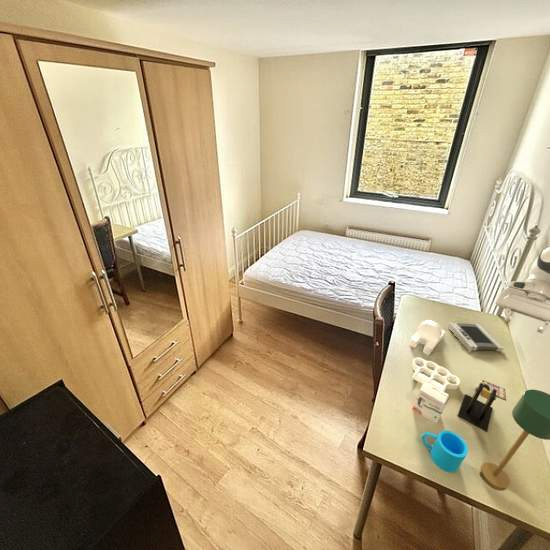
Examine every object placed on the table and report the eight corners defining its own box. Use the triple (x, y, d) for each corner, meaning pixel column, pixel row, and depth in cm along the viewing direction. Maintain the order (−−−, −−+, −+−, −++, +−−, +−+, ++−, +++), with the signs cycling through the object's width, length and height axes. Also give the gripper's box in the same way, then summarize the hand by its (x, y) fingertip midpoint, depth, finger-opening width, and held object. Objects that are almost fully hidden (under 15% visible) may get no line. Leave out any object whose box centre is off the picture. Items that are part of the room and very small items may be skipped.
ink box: (410, 411, 106) (419, 388, 100) (415, 402, 110) (424, 380, 104) (435, 426, 101) (446, 404, 95) (440, 416, 105) (450, 394, 99)
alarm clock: (449, 322, 147) (481, 320, 147) (447, 329, 149) (478, 327, 149) (470, 346, 132) (506, 343, 132) (468, 354, 134) (503, 351, 134)
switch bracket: (463, 396, 112) (475, 373, 106) (491, 410, 107) (505, 386, 101) (456, 417, 104) (468, 393, 98) (485, 433, 99) (500, 409, 93)
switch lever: (477, 389, 111) (480, 381, 111) (487, 394, 109) (491, 385, 109) (477, 396, 100) (481, 387, 100) (489, 401, 98) (493, 392, 98)
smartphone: (504, 376, 121) (505, 374, 121) (504, 402, 110) (506, 400, 110) (482, 368, 125) (483, 366, 125) (479, 391, 114) (481, 389, 114)
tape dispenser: (408, 344, 137) (414, 326, 132) (423, 327, 148) (429, 310, 143) (429, 355, 131) (436, 337, 126) (443, 336, 142) (450, 319, 137)
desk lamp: (508, 470, 89) (563, 397, 73) (514, 500, 82) (577, 428, 66) (474, 456, 93) (519, 384, 76) (477, 484, 85) (528, 412, 69)
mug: (461, 456, 92) (470, 441, 88) (456, 478, 87) (465, 463, 83) (421, 433, 99) (428, 418, 95) (414, 452, 93) (421, 436, 89)
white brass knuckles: (403, 375, 120) (417, 357, 130) (449, 402, 110) (461, 380, 119) (405, 370, 119) (419, 352, 128) (452, 397, 108) (464, 375, 117)
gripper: (572, 306, 102) (557, 341, 100) (502, 285, 114) (488, 316, 112) (579, 301, 97) (564, 338, 95) (505, 280, 109) (491, 312, 107)
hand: (523, 326), depth 104 cm, fingers open, 8 cm apart
